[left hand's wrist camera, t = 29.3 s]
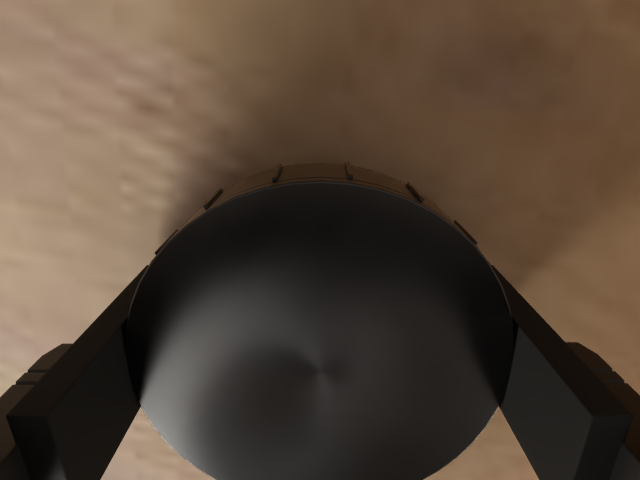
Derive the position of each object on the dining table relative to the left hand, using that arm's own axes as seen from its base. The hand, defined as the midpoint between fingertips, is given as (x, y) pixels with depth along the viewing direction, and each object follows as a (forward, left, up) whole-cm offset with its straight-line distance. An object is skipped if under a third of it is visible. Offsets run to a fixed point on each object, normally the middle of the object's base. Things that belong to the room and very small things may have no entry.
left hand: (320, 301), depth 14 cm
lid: (0, 0, +3) cm, 3 cm away
